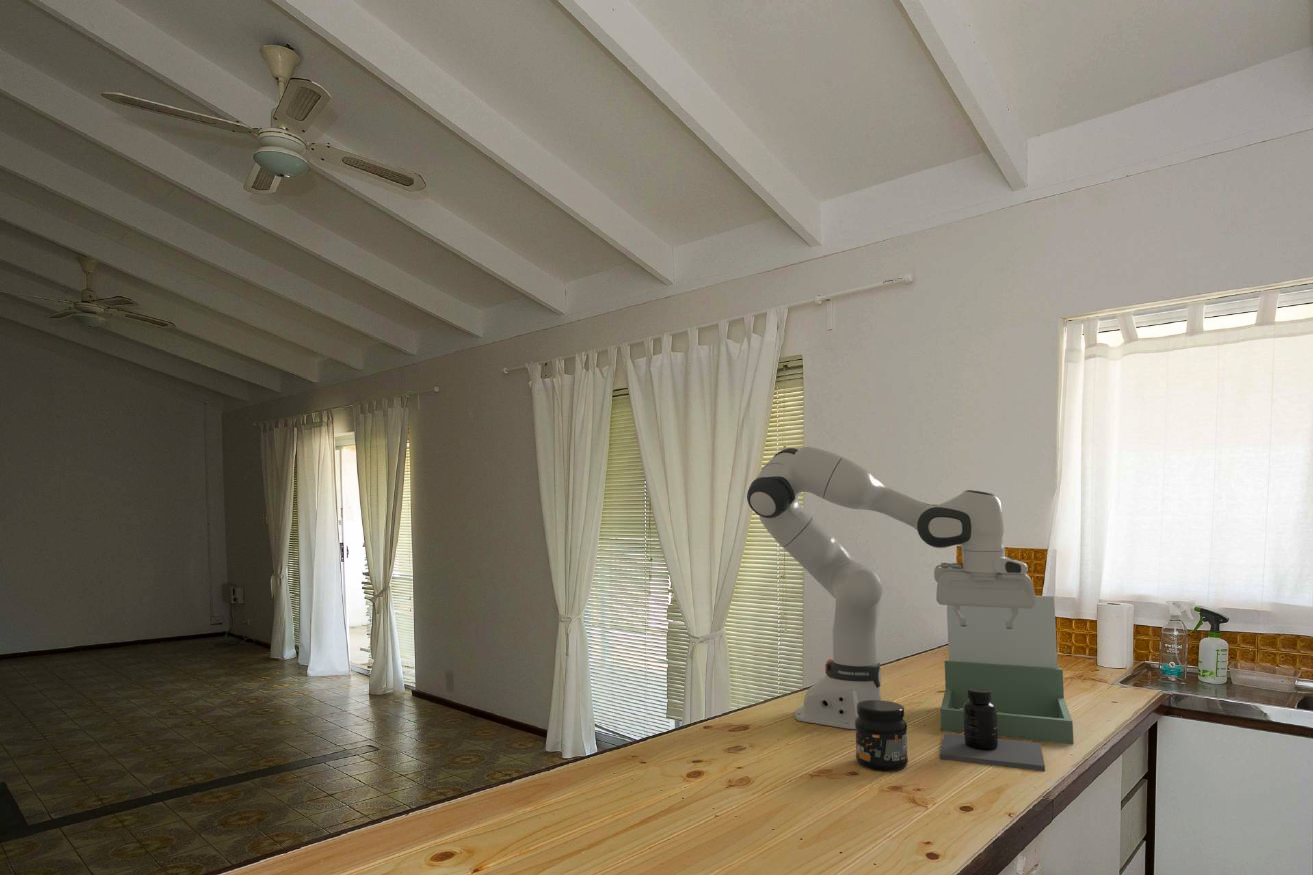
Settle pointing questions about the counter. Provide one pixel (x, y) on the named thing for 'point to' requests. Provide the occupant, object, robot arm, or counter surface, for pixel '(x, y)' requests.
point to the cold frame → (1008, 670)
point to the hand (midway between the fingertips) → (986, 627)
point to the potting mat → (994, 753)
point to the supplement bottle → (980, 720)
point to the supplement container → (881, 735)
